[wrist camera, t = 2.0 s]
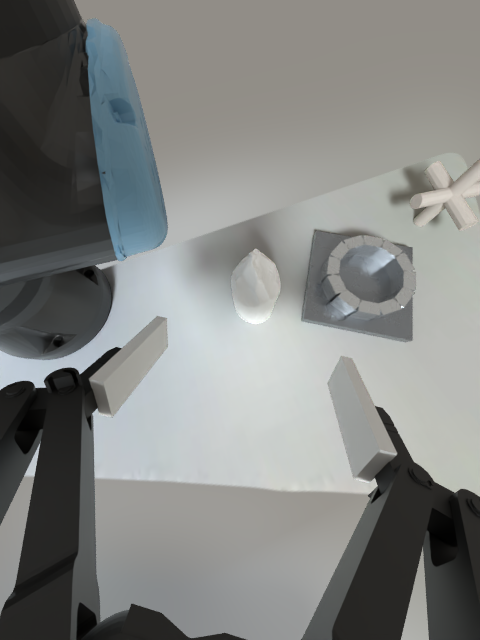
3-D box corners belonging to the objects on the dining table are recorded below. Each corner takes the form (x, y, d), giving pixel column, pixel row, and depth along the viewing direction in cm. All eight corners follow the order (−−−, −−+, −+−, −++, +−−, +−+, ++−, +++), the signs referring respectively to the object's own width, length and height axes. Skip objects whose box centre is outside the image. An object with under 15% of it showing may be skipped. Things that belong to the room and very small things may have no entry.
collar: (301, 321, 29) (309, 313, 25) (313, 235, 32) (322, 218, 29) (405, 342, 28) (429, 337, 24) (406, 252, 32) (427, 236, 28)
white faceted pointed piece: (301, 282, 17) (236, 296, 17) (277, 319, 29) (238, 328, 29) (281, 223, 19) (221, 235, 19) (266, 281, 31) (229, 289, 30)
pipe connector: (377, 202, 34) (430, 133, 24) (433, 191, 35) (508, 119, 25) (403, 255, 31) (475, 201, 22) (464, 242, 32) (560, 183, 22)
